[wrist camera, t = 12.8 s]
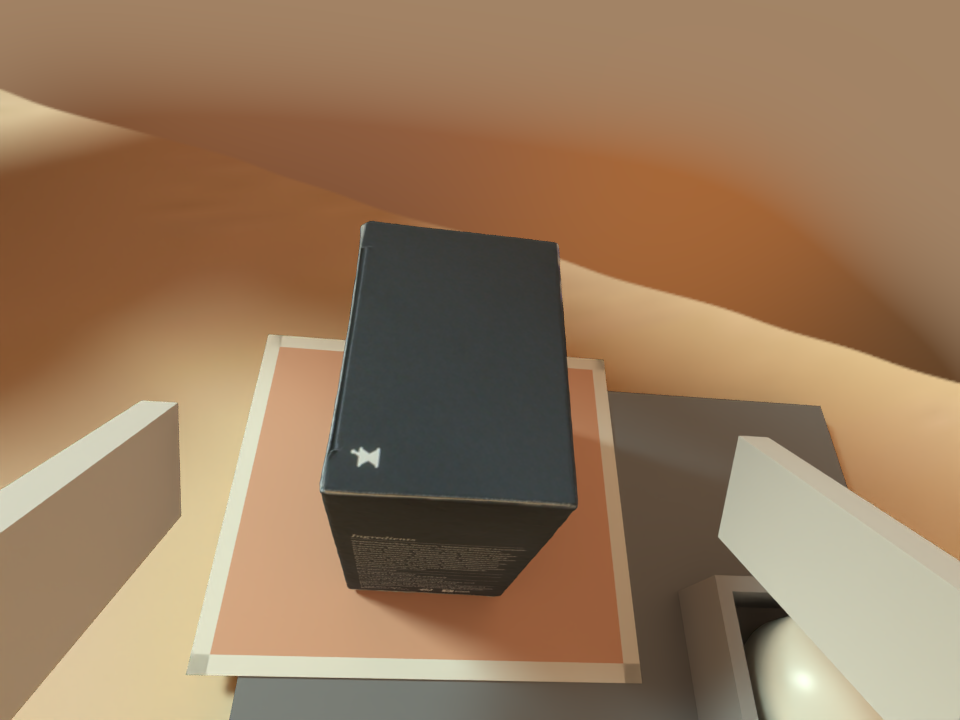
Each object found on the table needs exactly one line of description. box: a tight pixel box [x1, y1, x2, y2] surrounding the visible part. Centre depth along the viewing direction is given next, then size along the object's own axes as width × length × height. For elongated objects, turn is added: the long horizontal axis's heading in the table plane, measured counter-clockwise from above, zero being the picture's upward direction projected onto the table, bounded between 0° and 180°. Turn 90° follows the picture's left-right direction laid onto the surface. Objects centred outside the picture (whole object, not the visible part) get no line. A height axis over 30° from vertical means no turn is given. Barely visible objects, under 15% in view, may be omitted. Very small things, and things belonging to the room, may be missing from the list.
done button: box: [744, 616, 883, 720], centre depth 18 cm, size 5×5×3 cm
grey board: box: [186, 334, 848, 720], centre depth 21 cm, size 18×26×4 cm
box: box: [320, 221, 578, 597], centre depth 18 cm, size 8×6×11 cm
